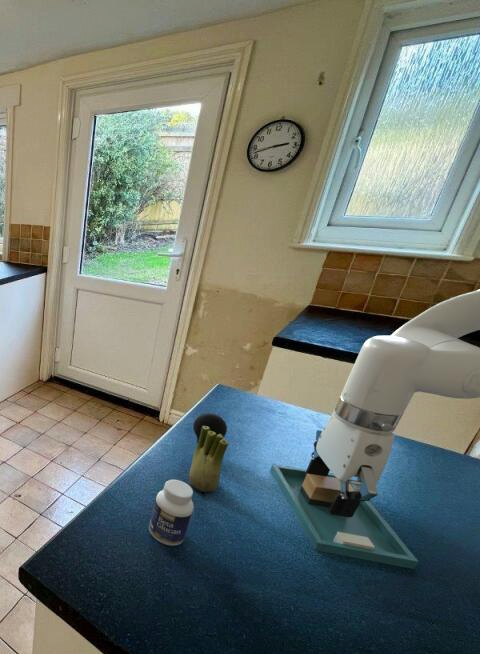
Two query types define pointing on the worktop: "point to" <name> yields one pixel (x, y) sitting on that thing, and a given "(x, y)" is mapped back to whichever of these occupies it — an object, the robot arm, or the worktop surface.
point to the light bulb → (210, 424)
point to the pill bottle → (172, 513)
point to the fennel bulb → (207, 461)
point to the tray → (342, 524)
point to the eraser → (321, 489)
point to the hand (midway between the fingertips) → (326, 495)
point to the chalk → (353, 540)
